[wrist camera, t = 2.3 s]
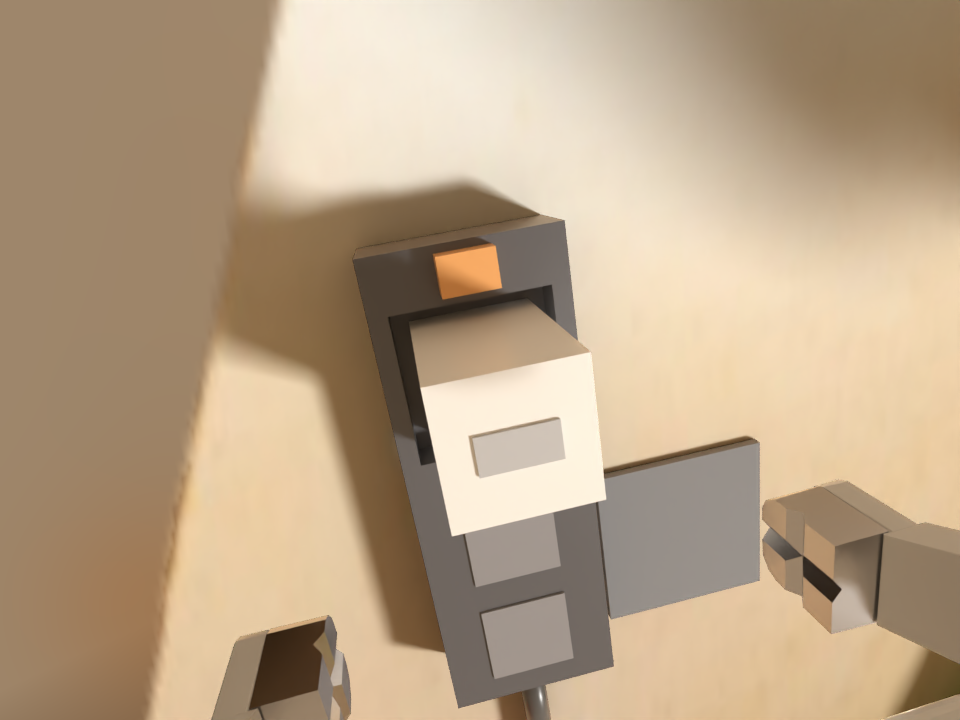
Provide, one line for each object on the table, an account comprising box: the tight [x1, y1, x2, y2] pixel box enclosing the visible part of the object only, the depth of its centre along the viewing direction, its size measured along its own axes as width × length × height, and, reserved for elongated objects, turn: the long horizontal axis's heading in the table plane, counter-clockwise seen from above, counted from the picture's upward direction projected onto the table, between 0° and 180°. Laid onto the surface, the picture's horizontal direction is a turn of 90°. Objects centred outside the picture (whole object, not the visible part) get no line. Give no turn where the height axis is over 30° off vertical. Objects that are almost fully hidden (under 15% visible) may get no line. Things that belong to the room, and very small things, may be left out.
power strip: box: [353, 215, 614, 720], centre depth 24 cm, size 7×26×4 cm, turn 9°
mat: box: [596, 439, 760, 619], centre depth 28 cm, size 8×8×1 cm
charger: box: [409, 298, 606, 536], centre depth 19 cm, size 4×4×7 cm
